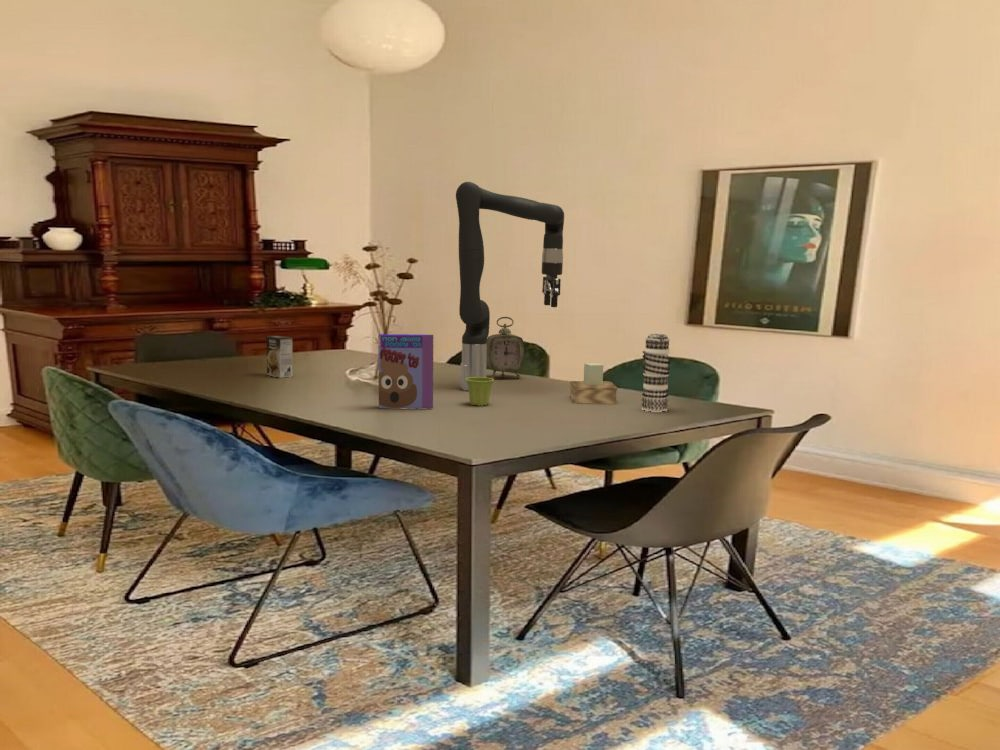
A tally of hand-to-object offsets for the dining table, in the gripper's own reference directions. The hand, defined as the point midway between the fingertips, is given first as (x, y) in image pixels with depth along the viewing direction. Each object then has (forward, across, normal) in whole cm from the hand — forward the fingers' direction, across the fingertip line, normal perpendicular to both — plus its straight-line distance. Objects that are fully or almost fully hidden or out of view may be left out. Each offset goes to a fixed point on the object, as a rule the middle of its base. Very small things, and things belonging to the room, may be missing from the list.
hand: (550, 306), depth 312 cm
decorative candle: (+31, +41, +24) cm, 57 cm away
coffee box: (+34, -50, -96) cm, 113 cm away
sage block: (+25, +20, +10) cm, 34 cm away
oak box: (+32, +21, +10) cm, 39 cm away
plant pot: (+32, +23, -31) cm, 50 cm away
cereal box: (+32, +25, -56) cm, 69 cm away
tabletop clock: (+32, -33, -8) cm, 47 cm away
